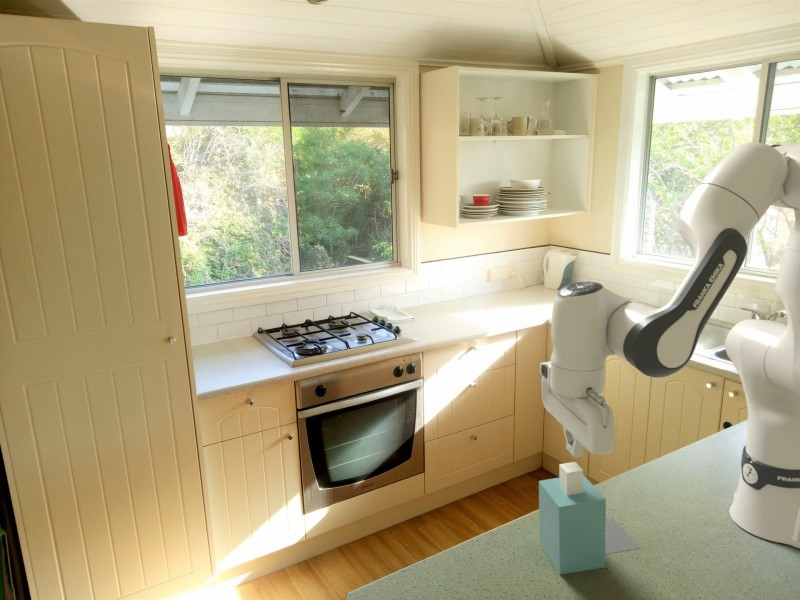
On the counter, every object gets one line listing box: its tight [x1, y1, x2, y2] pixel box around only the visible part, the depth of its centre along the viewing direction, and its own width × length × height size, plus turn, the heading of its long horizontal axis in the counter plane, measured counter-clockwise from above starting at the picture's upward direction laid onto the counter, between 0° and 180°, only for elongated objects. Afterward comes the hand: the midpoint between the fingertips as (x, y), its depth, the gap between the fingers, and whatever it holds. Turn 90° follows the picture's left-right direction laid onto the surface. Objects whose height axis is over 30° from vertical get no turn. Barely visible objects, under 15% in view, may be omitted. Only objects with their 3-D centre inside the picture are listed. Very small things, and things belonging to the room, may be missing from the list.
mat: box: [605, 517, 641, 555], centre depth 114 cm, size 10×10×1 cm
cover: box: [538, 461, 607, 575], centre depth 106 cm, size 8×8×18 cm
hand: (574, 453), depth 104 cm, fingers closed
